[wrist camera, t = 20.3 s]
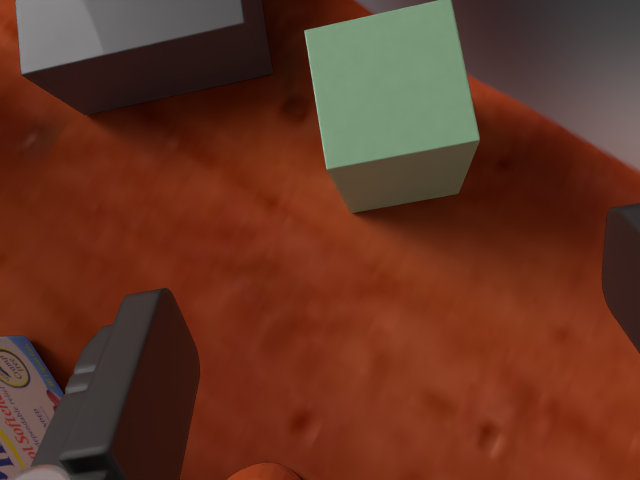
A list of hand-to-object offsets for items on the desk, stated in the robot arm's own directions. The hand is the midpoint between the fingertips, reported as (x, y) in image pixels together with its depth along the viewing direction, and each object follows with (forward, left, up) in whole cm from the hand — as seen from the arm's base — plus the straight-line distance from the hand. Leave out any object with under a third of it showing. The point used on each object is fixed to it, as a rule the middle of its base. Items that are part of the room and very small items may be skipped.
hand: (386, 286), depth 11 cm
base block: (-9, +17, -15) cm, 25 cm away
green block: (+1, +7, -15) cm, 17 cm away
